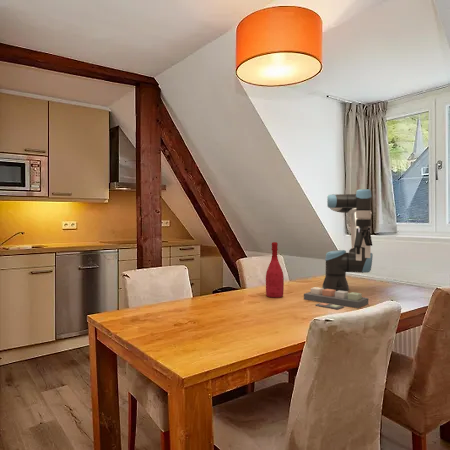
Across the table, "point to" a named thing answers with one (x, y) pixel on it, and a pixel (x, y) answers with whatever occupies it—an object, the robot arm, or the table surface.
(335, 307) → the placard
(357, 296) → the key sage
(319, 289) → the key ivory
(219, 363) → the table surface
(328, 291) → the key terracotta
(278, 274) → the wine bottle
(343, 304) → the keypad
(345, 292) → the key beige
